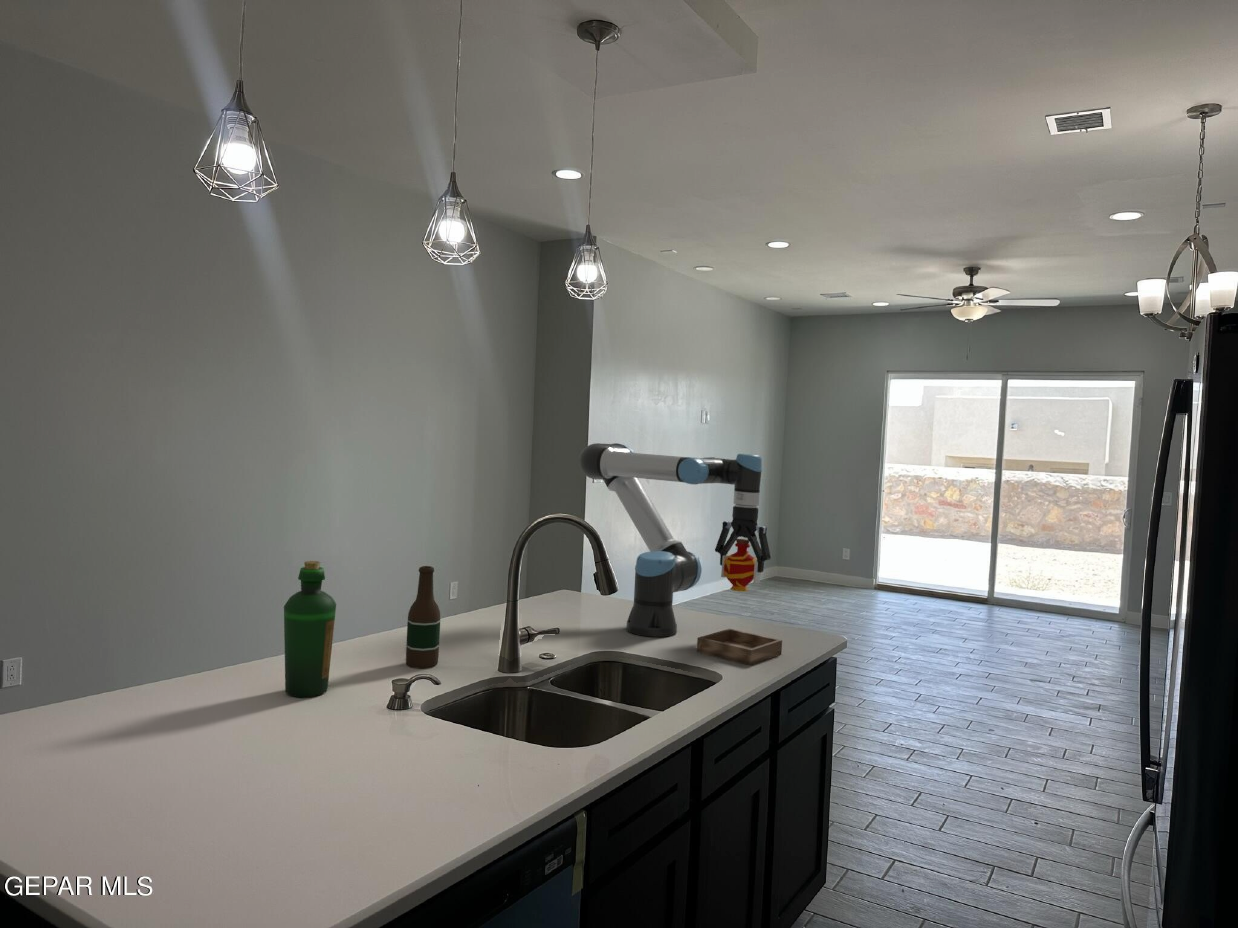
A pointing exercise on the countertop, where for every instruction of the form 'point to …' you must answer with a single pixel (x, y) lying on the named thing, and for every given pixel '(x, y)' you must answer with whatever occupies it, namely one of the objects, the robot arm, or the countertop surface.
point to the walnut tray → (739, 646)
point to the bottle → (308, 634)
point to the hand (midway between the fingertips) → (740, 579)
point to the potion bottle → (740, 566)
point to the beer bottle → (423, 624)
